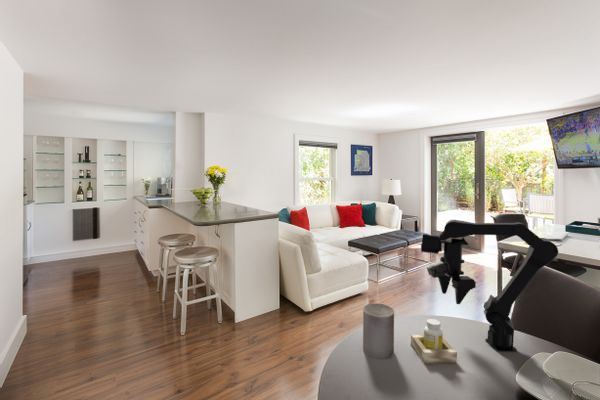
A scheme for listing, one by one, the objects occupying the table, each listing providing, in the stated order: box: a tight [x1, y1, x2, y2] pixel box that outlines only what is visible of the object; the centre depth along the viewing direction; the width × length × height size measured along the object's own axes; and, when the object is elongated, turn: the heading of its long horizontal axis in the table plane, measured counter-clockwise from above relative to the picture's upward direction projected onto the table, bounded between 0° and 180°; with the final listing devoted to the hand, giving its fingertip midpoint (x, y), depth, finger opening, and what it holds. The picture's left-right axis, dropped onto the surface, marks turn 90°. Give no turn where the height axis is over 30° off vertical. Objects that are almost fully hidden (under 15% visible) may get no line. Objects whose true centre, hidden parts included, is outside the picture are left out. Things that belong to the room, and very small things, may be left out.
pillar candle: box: [362, 302, 395, 360], centre depth 94 cm, size 10×10×15 cm
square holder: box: [410, 334, 458, 364], centre depth 93 cm, size 10×10×3 cm
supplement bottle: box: [423, 318, 444, 350], centre depth 93 cm, size 5×5×10 cm
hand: (450, 298), depth 104 cm, fingers open, 9 cm apart
